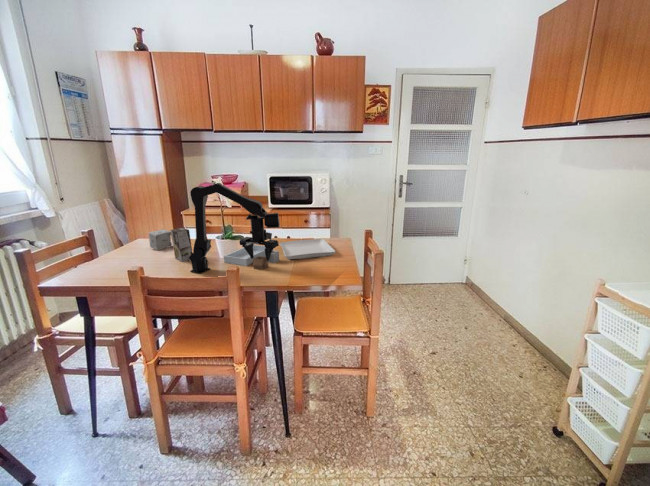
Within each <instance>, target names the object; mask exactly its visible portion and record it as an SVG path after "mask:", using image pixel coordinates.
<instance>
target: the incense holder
mask: <svg viewBox="0 0 650 486" xmlns="http://www.w3.org/2000/svg"><path fill="white" fill-rule="evenodd" d="M148 239H149V248H151V249H153V250H156V251H160V250H162V249H165V248H169V247H173V242H172V237H171V231H170V230H166V229H164V228H163V229H158V230H155V231H149V232H148Z"/></svg>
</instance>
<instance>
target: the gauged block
mask: <svg viewBox="0 0 650 486" xmlns="http://www.w3.org/2000/svg"><path fill="white" fill-rule="evenodd" d="M265 257H266V254H265ZM279 261H280V251H279V250H274V249H273V250H272V253H271V256H270V259H269V261H268V264H269V263H270V264H276V263H277V262H279Z"/></svg>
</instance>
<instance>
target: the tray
mask: <svg viewBox="0 0 650 486" xmlns="http://www.w3.org/2000/svg"><path fill="white" fill-rule="evenodd" d="M265 248H266V247H265V245H259V244H254V245H253V259H254V258H256V257H258V256H263V257H265ZM253 259H251V257H250V256H249V254H248V252H247V251H246V250H245V248H244V247H241V248H239V249H237V250H235V251H231V252H230V253H228V254H225V255H223V262H224V263H226V264H230V265H236V266H243V267H248V266H250V265H251V264H252V265H253Z"/></svg>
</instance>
